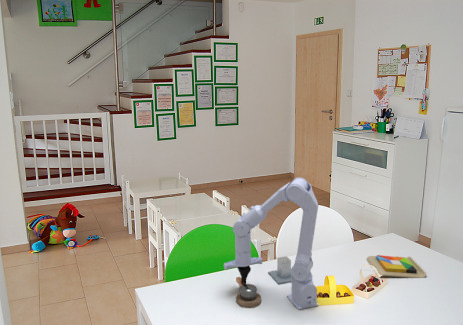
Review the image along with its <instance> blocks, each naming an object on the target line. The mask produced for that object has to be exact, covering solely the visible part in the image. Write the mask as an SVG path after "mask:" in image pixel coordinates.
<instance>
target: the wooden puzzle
mask: <svg viewBox="0 0 463 325" xmlns="http://www.w3.org/2000/svg"><path fill="white" fill-rule="evenodd" d="M366 261H367V263H368V265H369V266H370V265H372V266H374V267H375V268H376V269H377V271H378V273H379V274H380V275H382V277H391V278H392V277H393V278H407V279H408V278H409V279H425V278H426V277H427V272H426V271H425V270H424V269H423V268H422V267H421V266H420V264H418V263H417V262H416V260H415V259H413V258H412V257H411V256H407V257H406V256H405V257H404V256H403V257H402V256H390V255H382V254H379V255H378V254H377V255H369V256H367V258H366Z"/></svg>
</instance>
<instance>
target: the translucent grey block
mask: <svg viewBox="0 0 463 325" xmlns="http://www.w3.org/2000/svg"><path fill="white" fill-rule="evenodd" d="M276 263H277V267H276V270H277V274H278V275H279V276H280V277H281V278H287V277H291V269H292V260H291V259H290V258H289V257H288V256H287V255H286V256H280V257H277V260H276Z"/></svg>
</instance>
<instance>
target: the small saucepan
mask: <svg viewBox="0 0 463 325" xmlns="http://www.w3.org/2000/svg"><path fill="white" fill-rule="evenodd" d="M235 282H236V283H237V284H238V286H239V293H240V298H241V299H243V300H246V301H252V300H255V299H256V298H257V293H258V291H257V290H258V287H257V286H256V285H255V284H251V283H246V284H245V282H243V280H242V279H241V276H237V277H235Z"/></svg>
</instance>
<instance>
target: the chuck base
mask: <svg viewBox="0 0 463 325" xmlns="http://www.w3.org/2000/svg"><path fill="white" fill-rule="evenodd" d="M235 303H236V304H237V305H238V306H239V307H242V308H246V309H248V308H249V309H251V308H253V309H254V308H256V307H258V306H260V304H262V295H261V294H260V293H259V292H257V298H256V299H255V300H252V301H246V300H243V299H241V298H240V292H238V293H237V294H236V295H235Z"/></svg>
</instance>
